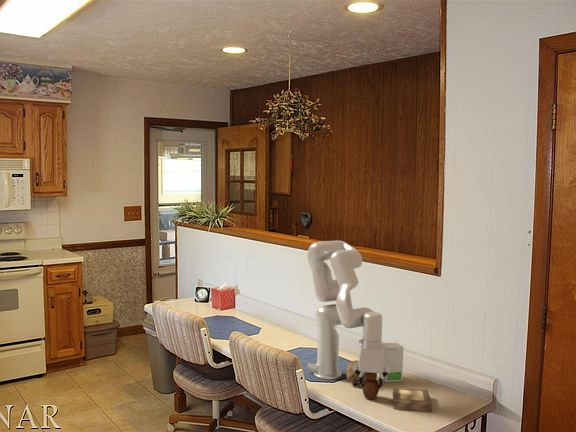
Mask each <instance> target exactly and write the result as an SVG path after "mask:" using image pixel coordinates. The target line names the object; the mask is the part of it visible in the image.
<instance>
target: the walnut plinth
mask: <svg viewBox="0 0 576 432" xmlns="http://www.w3.org/2000/svg"><path fill="white" fill-rule="evenodd" d="M392 401H393V403H392V404H393V409H394V410H402V411H403V410H404V411H417V412H429V413H432V408H433V404H432V400H431V397H430V393H429V389H420V388H419V389H418V388H406V387H392Z"/></svg>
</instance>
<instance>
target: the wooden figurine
mask: <svg viewBox="0 0 576 432" xmlns="http://www.w3.org/2000/svg"><path fill="white" fill-rule="evenodd" d="M377 378H378V373H367V372H366V374H365V379H364V380H363V387H362V393H363V396H364V398H365V399H366V400H374V399H376V398H377V397H378V394H379V391H380V388H379V380H377Z"/></svg>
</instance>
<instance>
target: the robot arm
mask: <svg viewBox="0 0 576 432" xmlns="http://www.w3.org/2000/svg"><path fill="white" fill-rule="evenodd" d="M307 250H308V251H307V260H308V264H309V267H310V270H311V274H312V280H313V287H314V293H315V297H316V299H317V300H318V301H319V303H329V302H335V303H332V304H325V305H321V306H320V307H319V308H317V310H316V312H315V319H316V320H315V321H316V328H317V350H316V351H317V353H316V354H317V355H316V357H317V358H316V363H314V364H313V363H307V366H306V369H309V370H310V371H313V376H314V377H316V378H318V379H321V380H336V379H339V378H341V377H342V373H343V372H342V371H341V370H340V369H339V355H340V352H339V351H340V336H339V332H338V331H337V329H336V327H338V326H342V325H343V327H344V328H347V329H357V328H360V327H362V338H361V339H358V343H359V344H361V345H360V349H359V355H358V360H357V362H356V363H355V364H353V365H352V369H353V370H354V371H355V373H356V374H357V375H358V376H359V383H358V384H359V385H360V388H363V383H364V380H363V376H362V375H363V373H364V372H367V373H377V374H378V375H379V377H378V383H379V390H380V389H382V387H383V386H384V385H383V384H384V380H383V379H384V377H385V376H386V375H387V374H388V373H389V372H390V371H391V368H390V367H389V366H388V365H387V364H386V363H385V362H384V349H383V347H382V343H383V342H382V339H383V337H382V336H383V315H382V314H381V313H380V312H377V311H373V310H372V309H371V308H368V307H357V308H353V304H352V303H353V302H352V295H351V291H352V290H354V289H355V288H356V287H358V286H359V280H358V276H357V274H356V271H355V270H356V269H358V268H361V267H362V264H363V257H362V254H361V253H360V252H359V250H357V248H355V247H354V246H352V245H350V244H349V243H347V242H345V241H343V240H325V241H324V240H323V241H322V240H321V241H316V242H313V243H311V245H309V247H308V249H307ZM325 261H330V264H331V265H330V266H331V267H332V269H331V268H330V266H329V265H328V263H326V262H325ZM332 271H333V274H334V276H335V279H333V276H332ZM358 365H359V370H358V369H357V368H356V367H357V366H358ZM384 367H385V368H386V369H387V370H386V371H385V372H384Z"/></svg>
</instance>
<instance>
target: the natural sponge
mask: <svg viewBox="0 0 576 432" xmlns="http://www.w3.org/2000/svg"><path fill="white" fill-rule="evenodd" d="M357 361H358V360H352V361H350V362H348V363H347V364H346V370H345V371H346V379H347V381H348V382H350V383H352V384H354V385H357V384H359V376H358V375H357V374H356V373H355V371H354V370H353V369H352V365H353V364H355V363H356V362H357ZM356 368H357V369H358V370H359V365H358V366H357V367H356ZM365 374H366V372H364V373H363V375H362V376H363V381H365V380H366V378H365Z"/></svg>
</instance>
